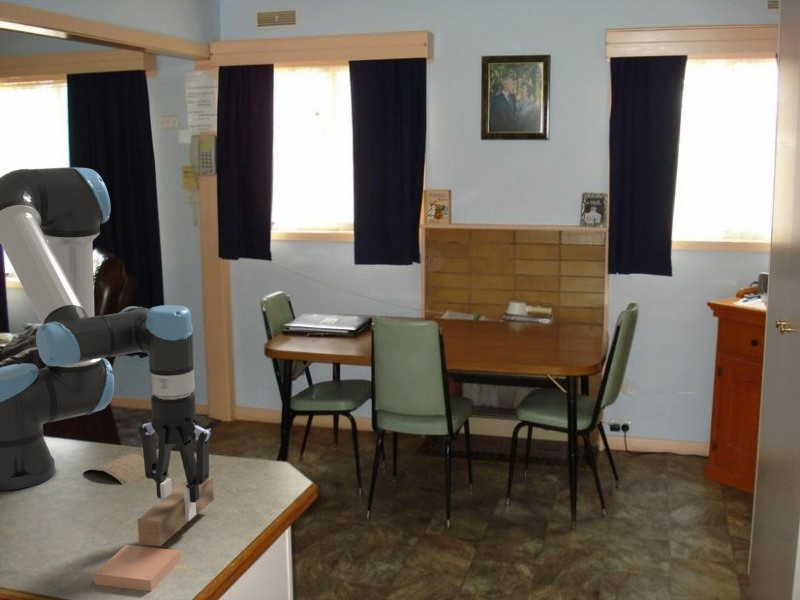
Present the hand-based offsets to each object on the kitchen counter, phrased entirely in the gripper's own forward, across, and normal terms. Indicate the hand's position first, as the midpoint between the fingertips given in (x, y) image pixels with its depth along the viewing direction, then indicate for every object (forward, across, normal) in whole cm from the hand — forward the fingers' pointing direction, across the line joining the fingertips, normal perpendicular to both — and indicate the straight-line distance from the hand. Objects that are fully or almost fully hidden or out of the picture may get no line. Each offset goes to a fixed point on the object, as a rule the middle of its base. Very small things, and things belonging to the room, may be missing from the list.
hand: (179, 515), depth 155 cm
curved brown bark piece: (+4, -26, +22) cm, 35 cm away
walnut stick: (+1, 0, 0) cm, 1 cm away
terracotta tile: (+2, 0, -10) cm, 10 cm away
